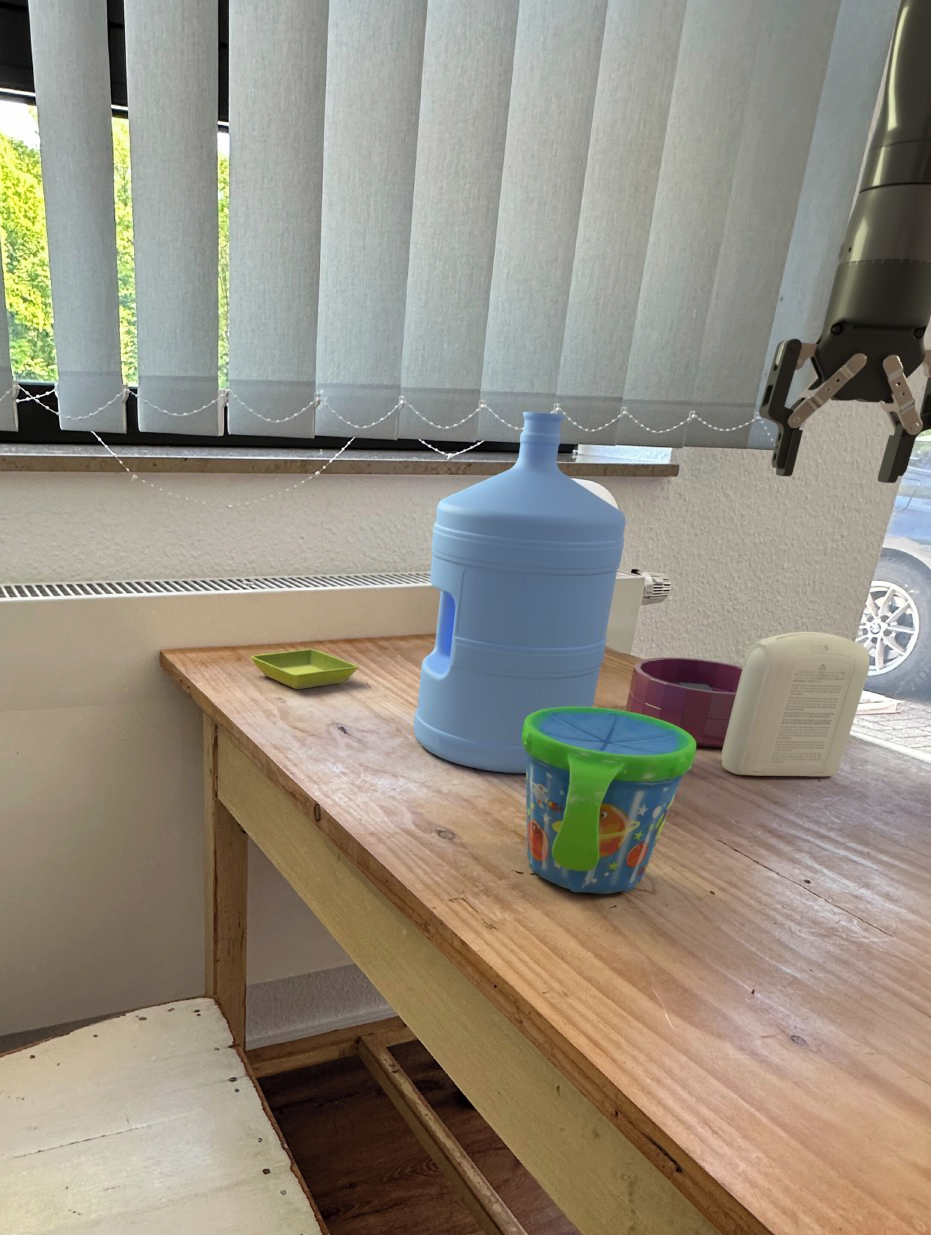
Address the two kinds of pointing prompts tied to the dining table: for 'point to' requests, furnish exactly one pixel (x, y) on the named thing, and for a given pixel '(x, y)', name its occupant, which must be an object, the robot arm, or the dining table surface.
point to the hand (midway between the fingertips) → (834, 479)
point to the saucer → (304, 668)
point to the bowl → (686, 695)
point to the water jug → (516, 604)
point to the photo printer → (795, 705)
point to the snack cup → (599, 793)
